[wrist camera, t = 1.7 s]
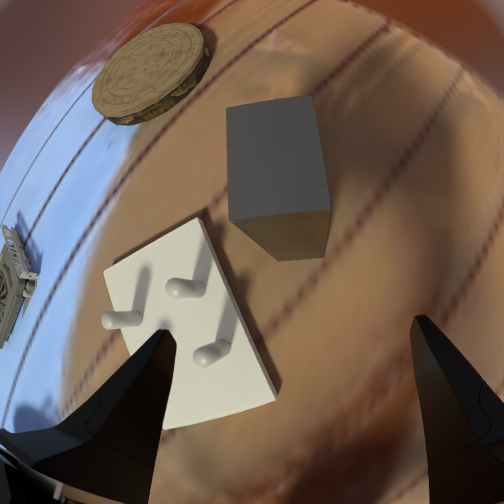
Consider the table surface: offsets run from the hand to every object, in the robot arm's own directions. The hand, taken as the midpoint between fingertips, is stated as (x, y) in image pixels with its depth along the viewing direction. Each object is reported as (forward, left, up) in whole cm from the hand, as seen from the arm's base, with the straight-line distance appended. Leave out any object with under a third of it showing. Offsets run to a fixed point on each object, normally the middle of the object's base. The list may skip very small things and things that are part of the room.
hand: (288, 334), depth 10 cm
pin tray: (+5, +9, -13) cm, 16 cm away
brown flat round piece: (+33, -3, -13) cm, 35 cm away
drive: (+6, -4, -13) cm, 14 cm away
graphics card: (+25, +33, -13) cm, 44 cm away
